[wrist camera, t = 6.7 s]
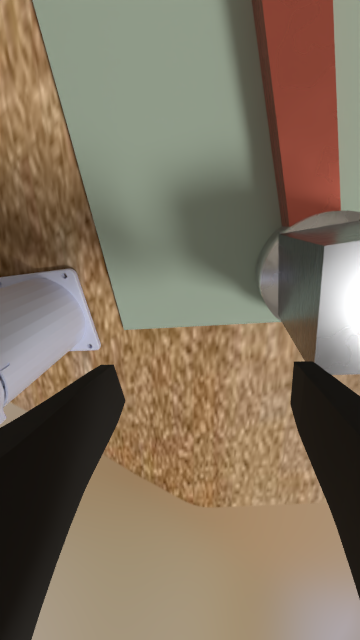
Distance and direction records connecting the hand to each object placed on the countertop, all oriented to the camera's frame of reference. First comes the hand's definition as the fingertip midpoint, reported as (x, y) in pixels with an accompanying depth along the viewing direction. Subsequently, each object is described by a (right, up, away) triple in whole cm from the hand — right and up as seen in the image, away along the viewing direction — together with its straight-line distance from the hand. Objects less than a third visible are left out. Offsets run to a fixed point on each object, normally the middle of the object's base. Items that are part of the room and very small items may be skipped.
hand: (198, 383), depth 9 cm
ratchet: (+6, +11, +4) cm, 14 cm away
